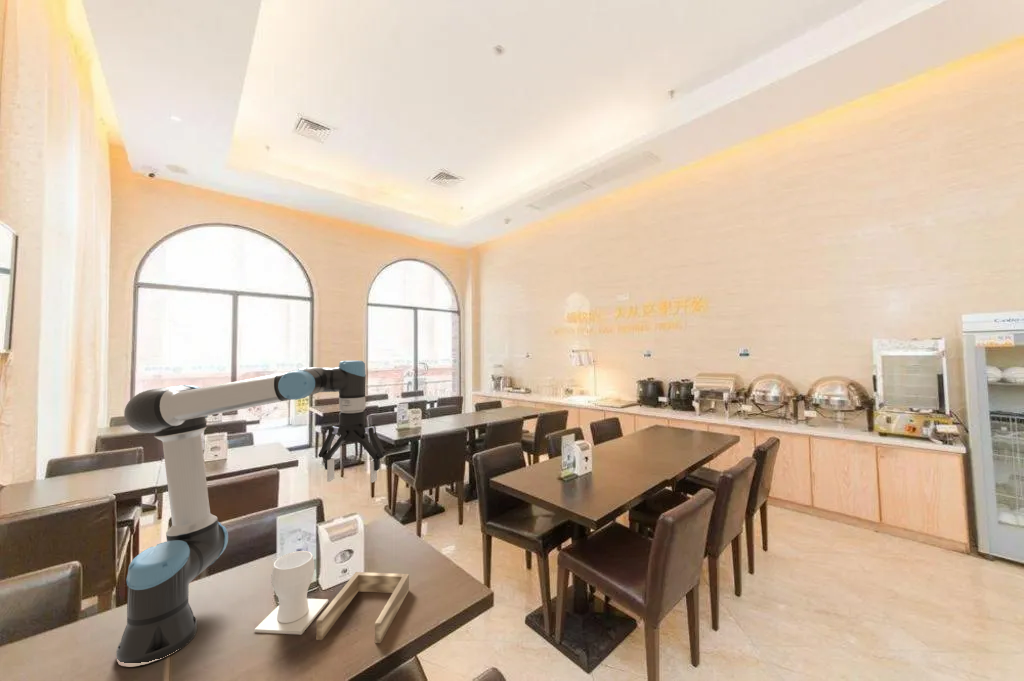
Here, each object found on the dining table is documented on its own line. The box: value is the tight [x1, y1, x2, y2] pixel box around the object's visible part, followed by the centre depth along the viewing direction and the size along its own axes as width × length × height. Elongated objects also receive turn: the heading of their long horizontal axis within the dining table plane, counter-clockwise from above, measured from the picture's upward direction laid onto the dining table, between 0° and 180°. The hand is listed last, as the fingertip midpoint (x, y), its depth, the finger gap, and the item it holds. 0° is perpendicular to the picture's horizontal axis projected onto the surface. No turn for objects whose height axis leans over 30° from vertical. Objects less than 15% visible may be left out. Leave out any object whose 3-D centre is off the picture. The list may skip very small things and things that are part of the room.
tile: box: [254, 597, 329, 635], centre depth 109 cm, size 13×13×1 cm
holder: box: [315, 571, 410, 644], centre depth 110 cm, size 17×22×5 cm
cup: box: [270, 550, 315, 623], centre depth 109 cm, size 11×11×15 cm
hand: (352, 480), depth 119 cm, fingers open, 13 cm apart
